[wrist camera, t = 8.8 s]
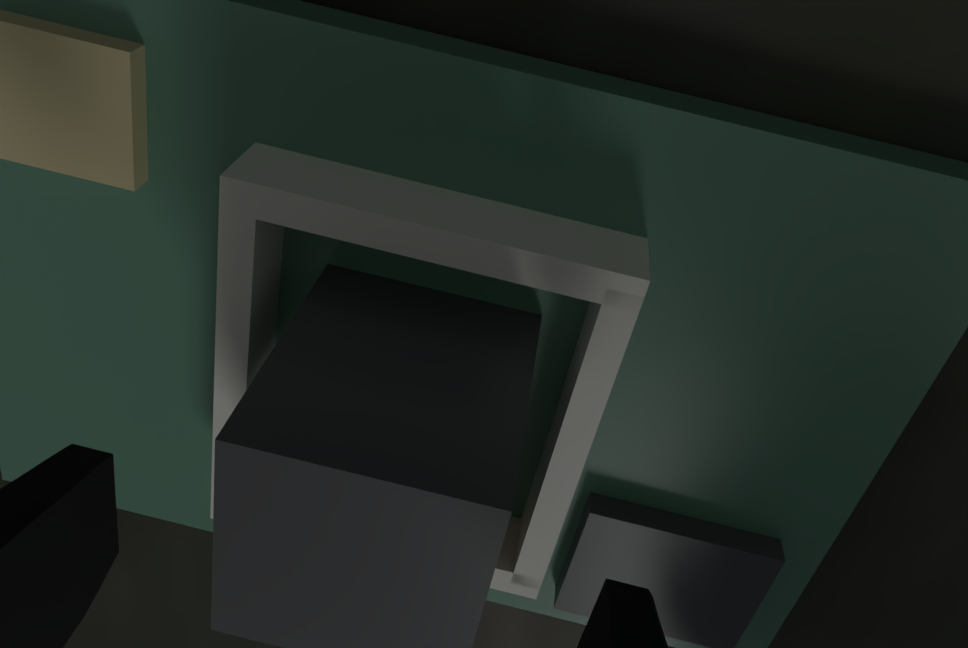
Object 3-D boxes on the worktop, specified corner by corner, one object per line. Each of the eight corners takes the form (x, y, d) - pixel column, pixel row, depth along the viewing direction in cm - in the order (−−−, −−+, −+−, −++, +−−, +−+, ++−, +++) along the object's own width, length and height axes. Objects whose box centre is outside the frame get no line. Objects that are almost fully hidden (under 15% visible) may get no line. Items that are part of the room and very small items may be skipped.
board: (1020, 175, 14) (1093, 242, 12) (749, 631, 20) (765, 727, 18) (-44, -84, 14) (-164, -64, 12) (27, 451, 20) (-41, 526, 18)
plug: (542, 315, 15) (512, 511, 11) (492, 495, 18) (452, 713, 13) (327, 263, 15) (215, 439, 11) (307, 450, 18) (210, 653, 13)
